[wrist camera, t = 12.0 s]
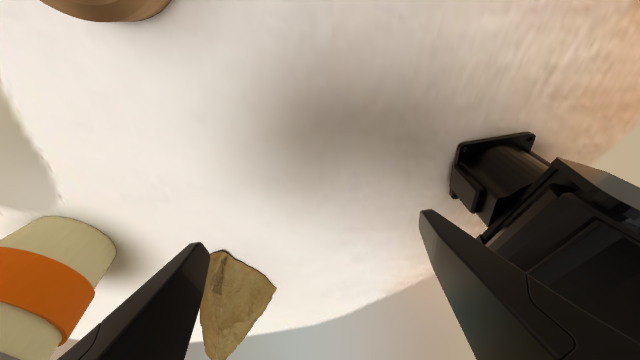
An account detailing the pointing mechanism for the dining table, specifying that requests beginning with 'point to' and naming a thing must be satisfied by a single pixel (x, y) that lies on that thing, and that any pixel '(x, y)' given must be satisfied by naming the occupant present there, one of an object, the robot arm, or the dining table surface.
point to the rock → (231, 304)
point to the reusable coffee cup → (48, 283)
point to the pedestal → (109, 9)
